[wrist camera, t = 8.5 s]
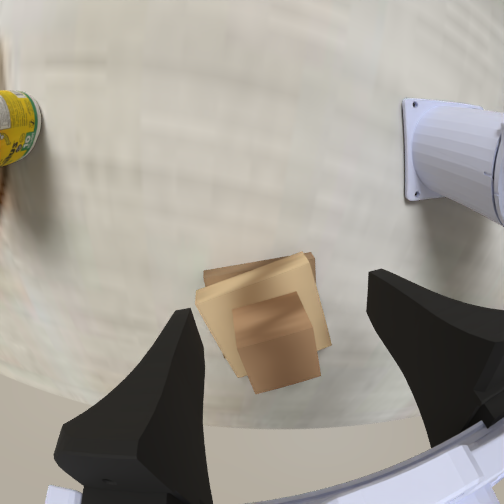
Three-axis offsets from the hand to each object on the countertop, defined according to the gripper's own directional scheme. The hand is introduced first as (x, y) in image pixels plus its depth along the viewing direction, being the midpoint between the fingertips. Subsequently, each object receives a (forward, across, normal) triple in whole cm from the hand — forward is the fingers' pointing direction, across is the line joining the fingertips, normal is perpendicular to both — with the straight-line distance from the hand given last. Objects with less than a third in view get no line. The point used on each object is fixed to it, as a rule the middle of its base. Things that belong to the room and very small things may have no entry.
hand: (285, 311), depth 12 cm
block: (+8, 0, +7) cm, 10 cm away
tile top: (+9, 0, +7) cm, 12 cm away
